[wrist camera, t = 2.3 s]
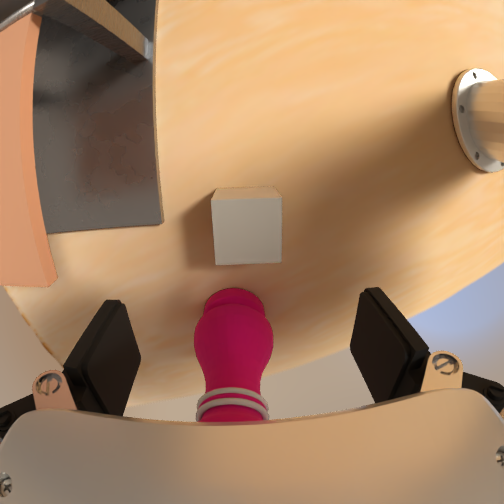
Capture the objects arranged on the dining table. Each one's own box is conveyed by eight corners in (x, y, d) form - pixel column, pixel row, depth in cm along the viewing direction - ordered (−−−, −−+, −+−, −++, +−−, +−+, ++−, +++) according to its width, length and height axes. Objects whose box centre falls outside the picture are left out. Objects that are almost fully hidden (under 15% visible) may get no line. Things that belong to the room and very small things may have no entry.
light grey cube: (274, 186, 24) (282, 197, 20) (274, 239, 26) (281, 262, 22) (216, 188, 24) (210, 200, 20) (219, 242, 26) (215, 265, 22)
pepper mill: (220, 270, 27) (198, 479, 9) (282, 302, 29) (325, 493, 10) (188, 322, 29) (151, 502, 11) (246, 348, 31) (253, 520, 13)
